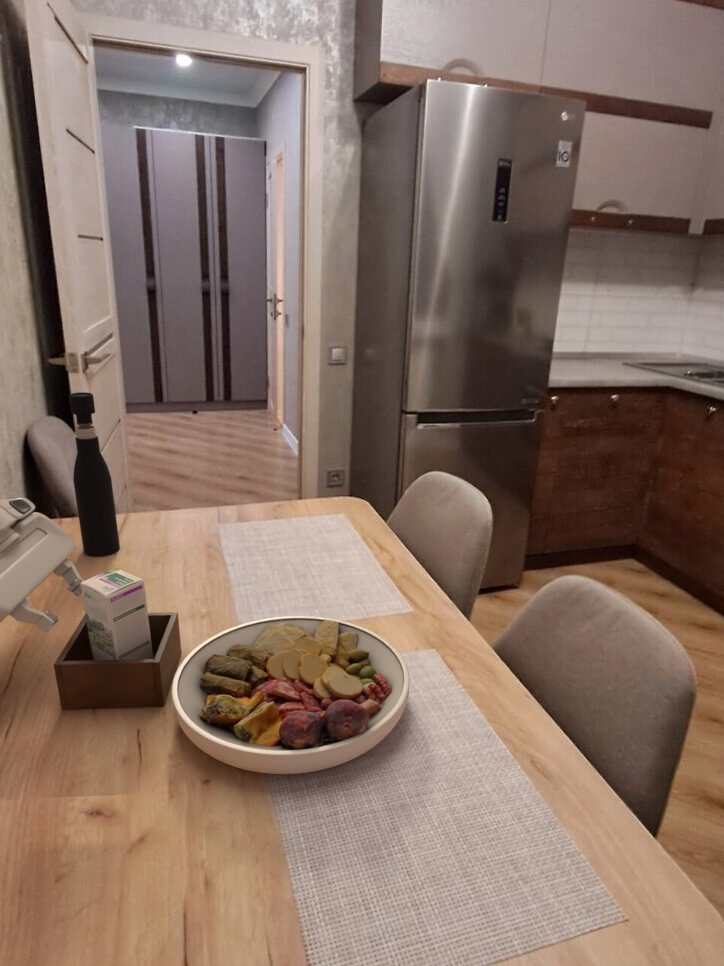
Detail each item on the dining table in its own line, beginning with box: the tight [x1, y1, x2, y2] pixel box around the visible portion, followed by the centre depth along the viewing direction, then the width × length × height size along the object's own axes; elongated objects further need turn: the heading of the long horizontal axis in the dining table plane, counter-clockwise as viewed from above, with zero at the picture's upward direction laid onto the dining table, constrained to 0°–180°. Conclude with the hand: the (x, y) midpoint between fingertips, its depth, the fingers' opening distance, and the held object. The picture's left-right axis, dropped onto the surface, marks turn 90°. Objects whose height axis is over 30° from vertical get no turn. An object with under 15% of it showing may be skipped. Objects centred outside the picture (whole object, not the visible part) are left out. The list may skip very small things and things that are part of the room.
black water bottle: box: [68, 391, 121, 557], centre depth 123 cm, size 6×6×30 cm
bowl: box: [170, 615, 411, 775], centre depth 86 cm, size 30×30×8 cm
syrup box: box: [80, 567, 153, 660], centre depth 88 cm, size 6×6×14 cm
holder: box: [53, 612, 182, 711], centre depth 90 cm, size 13×13×7 cm
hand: (69, 607), depth 88 cm, fingers open, 8 cm apart
